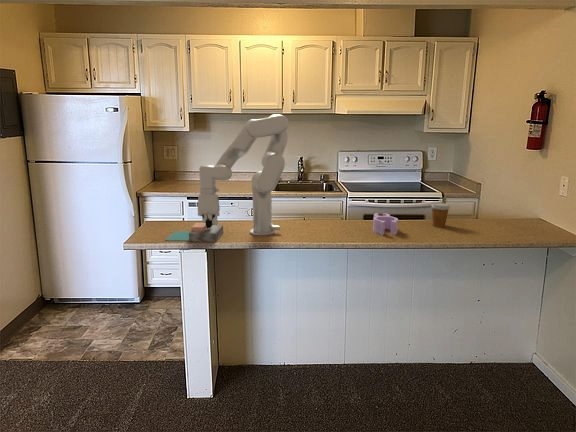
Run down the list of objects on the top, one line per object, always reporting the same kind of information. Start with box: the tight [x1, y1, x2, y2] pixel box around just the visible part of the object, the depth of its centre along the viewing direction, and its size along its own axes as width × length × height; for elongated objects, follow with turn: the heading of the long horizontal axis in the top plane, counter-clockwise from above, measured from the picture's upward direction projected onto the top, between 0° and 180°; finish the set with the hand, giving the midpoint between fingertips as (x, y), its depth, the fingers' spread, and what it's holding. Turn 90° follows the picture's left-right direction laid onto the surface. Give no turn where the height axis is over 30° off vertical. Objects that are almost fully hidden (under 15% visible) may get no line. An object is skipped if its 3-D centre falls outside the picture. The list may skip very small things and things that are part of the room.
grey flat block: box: [188, 224, 224, 243], centre depth 222 cm, size 13×16×4 cm
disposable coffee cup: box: [430, 202, 450, 228], centre depth 243 cm, size 10×10×12 cm
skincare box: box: [201, 214, 219, 225], centre depth 241 cm, size 8×6×15 cm
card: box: [191, 222, 207, 231], centre depth 222 cm, size 6×9×2 cm, turn 176°
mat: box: [165, 230, 191, 242], centre depth 224 cm, size 11×16×1 cm
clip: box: [372, 212, 399, 236], centre depth 235 cm, size 20×12×7 cm, turn 1°
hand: (209, 227), depth 221 cm, fingers closed
